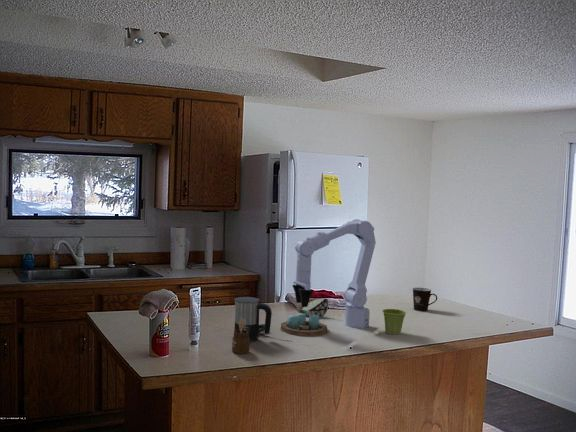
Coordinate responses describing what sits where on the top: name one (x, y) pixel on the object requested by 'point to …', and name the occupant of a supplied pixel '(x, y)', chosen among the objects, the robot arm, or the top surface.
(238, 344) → the brown bottle
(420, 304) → the coffee mug
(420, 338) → the top surface
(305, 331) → the groove tray
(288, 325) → the bead
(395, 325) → the plant pot
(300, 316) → the loose bead
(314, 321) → the seated bead
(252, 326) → the milk frother
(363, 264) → the robot arm
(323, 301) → the food container
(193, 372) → the top surface
